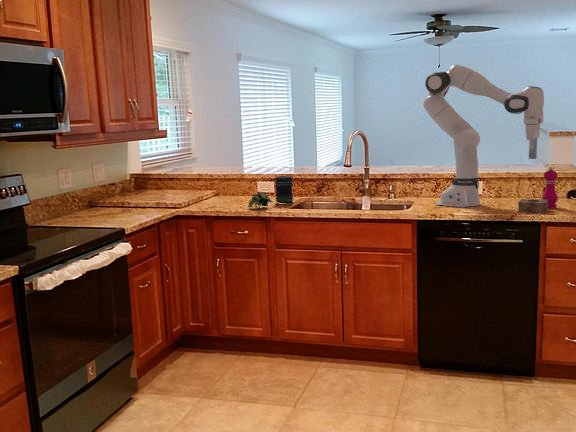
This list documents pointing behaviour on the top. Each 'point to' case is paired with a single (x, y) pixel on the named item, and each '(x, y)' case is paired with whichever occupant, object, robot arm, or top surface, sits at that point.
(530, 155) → the peg
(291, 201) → the storage jar
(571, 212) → the top surface
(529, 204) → the socket block
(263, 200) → the potted plant
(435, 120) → the robot arm
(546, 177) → the pepper mill
